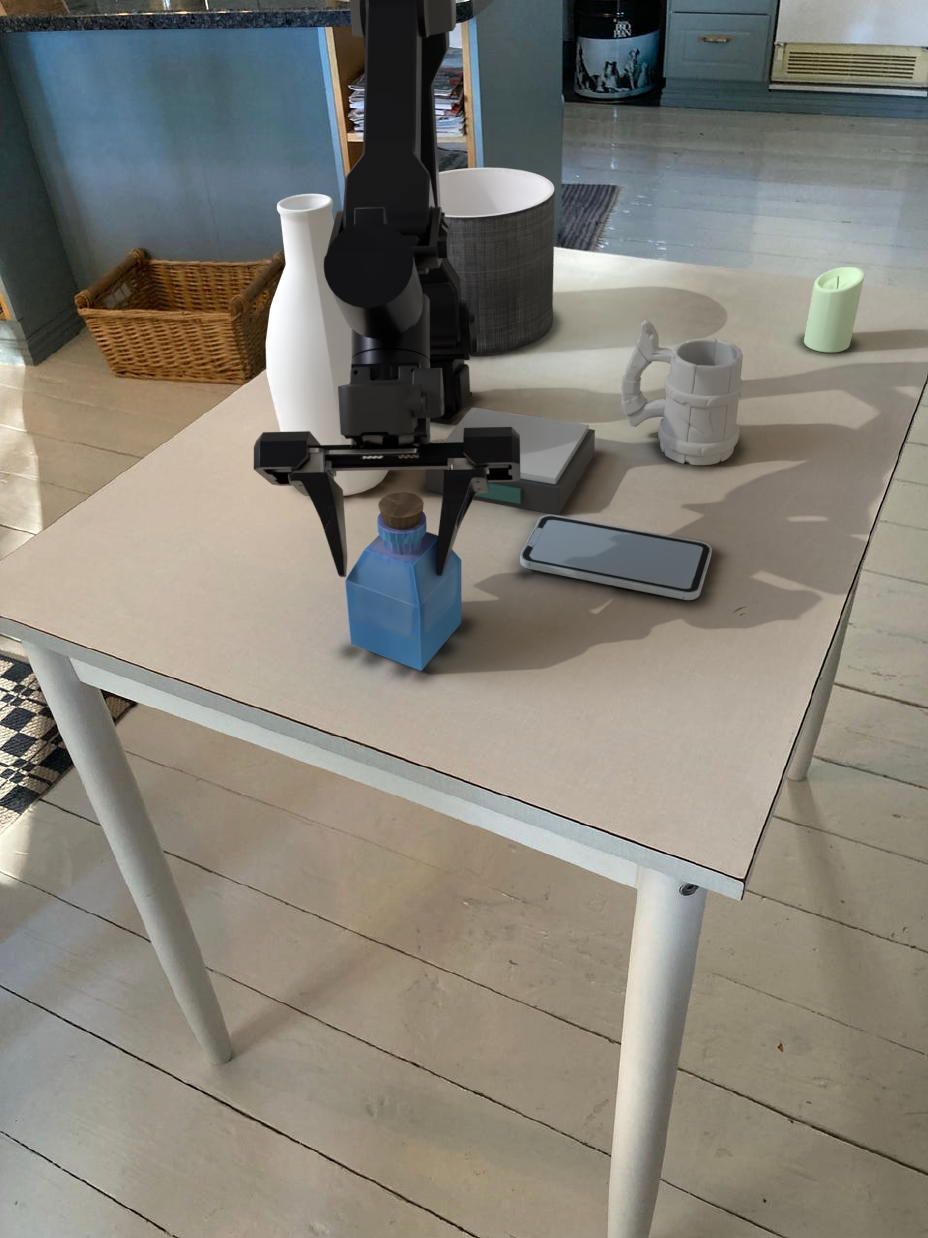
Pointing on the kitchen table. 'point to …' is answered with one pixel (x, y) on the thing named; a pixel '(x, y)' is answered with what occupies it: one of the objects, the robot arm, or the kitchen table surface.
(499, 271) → the planter
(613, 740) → the kitchen table surface
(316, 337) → the bottle
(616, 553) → the smartphone
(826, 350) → the candle
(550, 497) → the scale
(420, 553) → the perfume bottle
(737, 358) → the mug
